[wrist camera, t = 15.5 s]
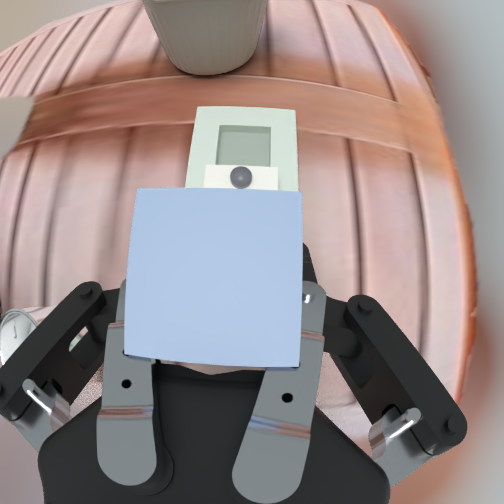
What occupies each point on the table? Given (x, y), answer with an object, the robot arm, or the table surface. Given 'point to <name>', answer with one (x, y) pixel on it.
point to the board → (244, 142)
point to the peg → (215, 276)
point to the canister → (207, 32)
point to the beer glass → (24, 328)
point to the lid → (241, 177)
